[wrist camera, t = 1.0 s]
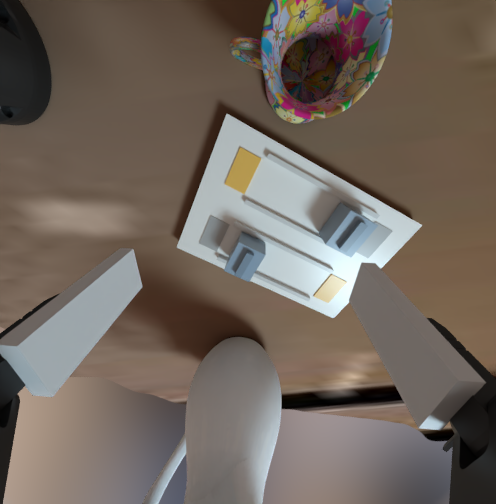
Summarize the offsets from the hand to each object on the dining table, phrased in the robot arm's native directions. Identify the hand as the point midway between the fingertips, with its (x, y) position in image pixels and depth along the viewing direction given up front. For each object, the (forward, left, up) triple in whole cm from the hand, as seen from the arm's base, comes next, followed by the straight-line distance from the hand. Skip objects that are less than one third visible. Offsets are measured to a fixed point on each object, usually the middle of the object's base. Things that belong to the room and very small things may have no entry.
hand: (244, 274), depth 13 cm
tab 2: (+12, +2, -19) cm, 23 cm away
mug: (-3, +14, -21) cm, 25 cm away
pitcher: (+11, -35, -21) cm, 43 cm away
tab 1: (+2, -8, -19) cm, 21 cm away
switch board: (+7, -3, -21) cm, 22 cm away
